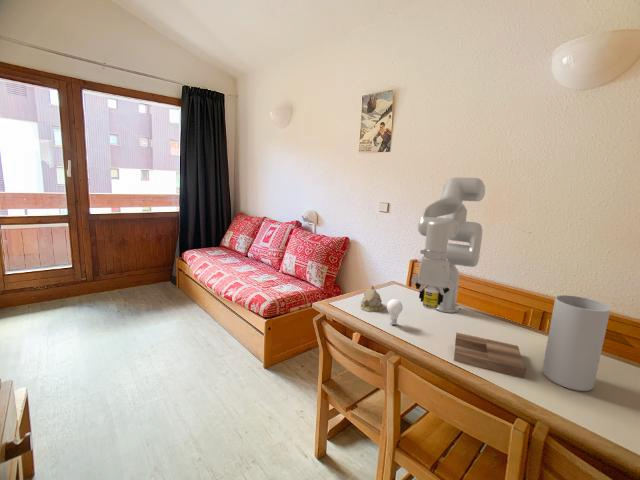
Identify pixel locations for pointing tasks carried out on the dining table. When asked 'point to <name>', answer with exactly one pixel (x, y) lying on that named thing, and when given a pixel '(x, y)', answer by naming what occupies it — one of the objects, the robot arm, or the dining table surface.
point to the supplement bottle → (431, 297)
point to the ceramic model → (371, 300)
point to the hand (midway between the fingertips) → (430, 301)
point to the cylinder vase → (575, 341)
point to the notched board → (489, 354)
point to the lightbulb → (394, 310)
